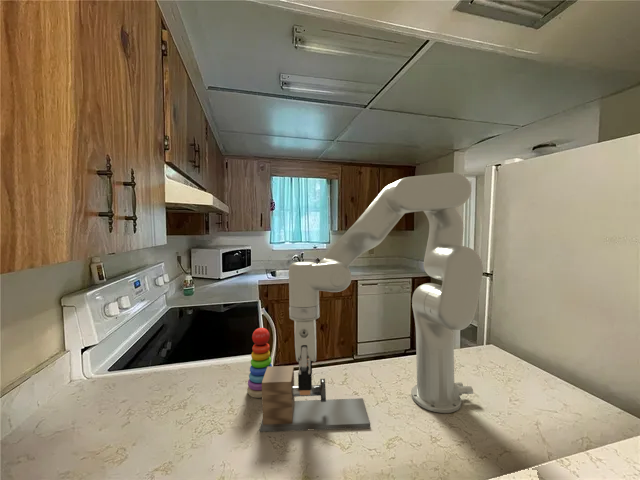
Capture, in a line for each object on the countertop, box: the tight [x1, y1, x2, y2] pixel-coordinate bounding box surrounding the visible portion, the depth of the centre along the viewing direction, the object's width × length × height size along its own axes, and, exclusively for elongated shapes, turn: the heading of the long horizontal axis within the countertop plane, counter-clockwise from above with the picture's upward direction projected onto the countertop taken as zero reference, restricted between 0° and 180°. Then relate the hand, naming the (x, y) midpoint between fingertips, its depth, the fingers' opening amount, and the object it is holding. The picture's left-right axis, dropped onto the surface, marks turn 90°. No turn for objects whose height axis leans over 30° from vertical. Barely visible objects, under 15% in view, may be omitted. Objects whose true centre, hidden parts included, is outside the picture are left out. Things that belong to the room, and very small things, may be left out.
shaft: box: [292, 378, 327, 402], centre depth 69 cm, size 16×5×5 cm, turn 91°
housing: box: [259, 365, 371, 433], centre depth 70 cm, size 26×10×11 cm, turn 91°
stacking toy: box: [246, 327, 273, 399], centre depth 81 cm, size 8×8×19 cm
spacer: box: [300, 358, 311, 395], centre depth 69 cm, size 2×6×6 cm, turn 1°
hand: (305, 381), depth 69 cm, fingers closed on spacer, 6 cm apart
